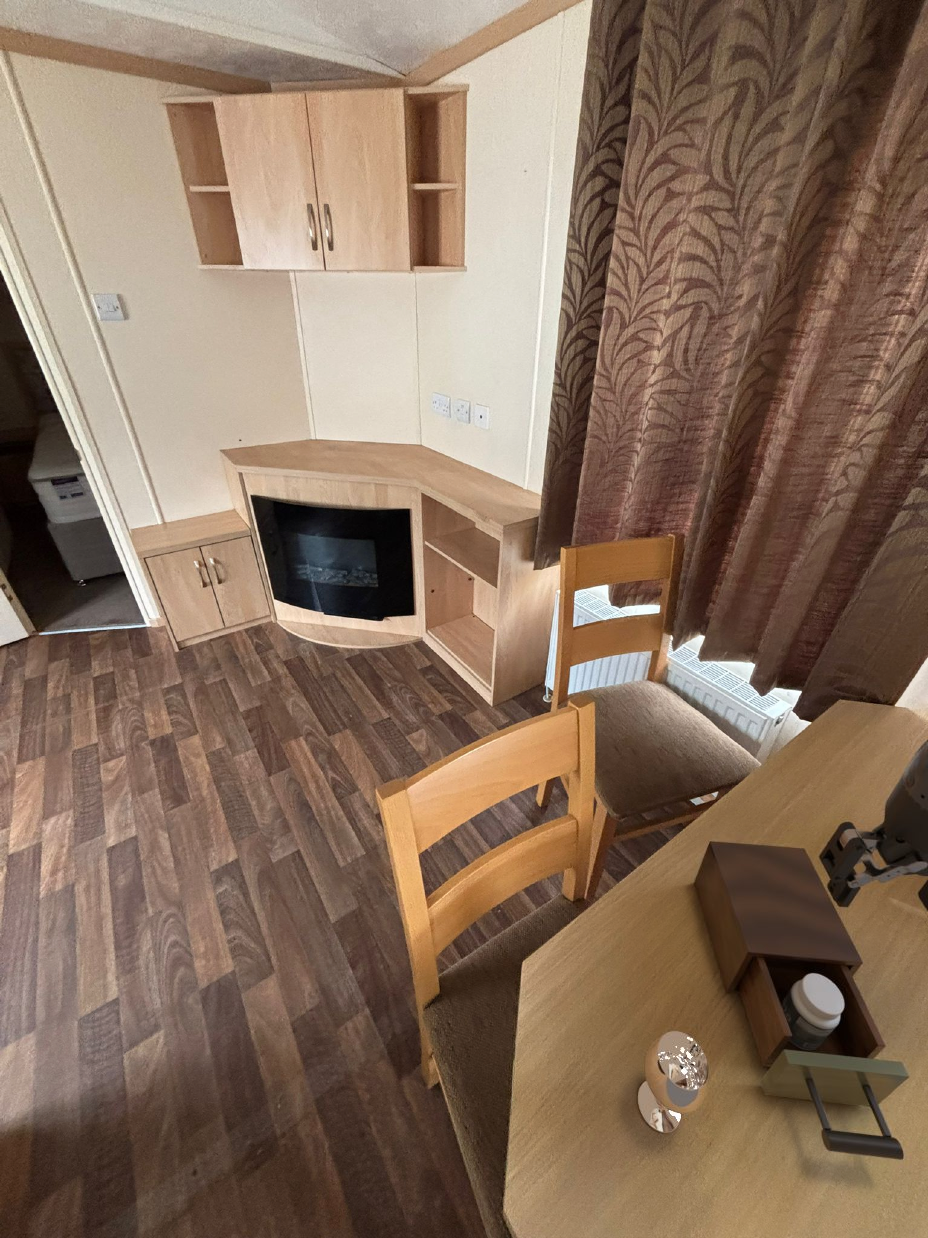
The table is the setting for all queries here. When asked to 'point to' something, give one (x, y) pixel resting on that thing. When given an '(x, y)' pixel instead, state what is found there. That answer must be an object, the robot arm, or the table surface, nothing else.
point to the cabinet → (768, 909)
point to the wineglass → (672, 1081)
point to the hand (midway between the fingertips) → (882, 901)
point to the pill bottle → (812, 1010)
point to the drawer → (822, 1052)
